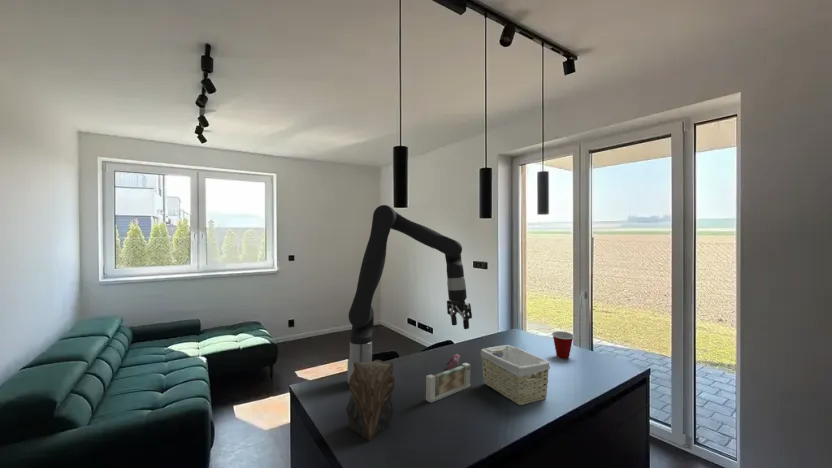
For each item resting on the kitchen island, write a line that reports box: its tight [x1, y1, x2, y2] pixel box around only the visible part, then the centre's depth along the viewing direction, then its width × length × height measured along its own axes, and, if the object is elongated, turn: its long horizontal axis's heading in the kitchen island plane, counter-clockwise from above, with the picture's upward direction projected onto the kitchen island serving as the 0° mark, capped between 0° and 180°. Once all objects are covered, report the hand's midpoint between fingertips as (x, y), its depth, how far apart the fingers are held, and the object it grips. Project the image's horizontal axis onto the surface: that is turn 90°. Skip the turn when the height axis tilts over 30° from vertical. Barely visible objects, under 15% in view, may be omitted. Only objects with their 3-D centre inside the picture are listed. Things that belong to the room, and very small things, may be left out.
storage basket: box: [480, 344, 551, 406], centre depth 136 cm, size 24×16×15 cm
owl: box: [345, 359, 395, 442], centre depth 110 cm, size 13×13×20 cm
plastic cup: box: [551, 330, 575, 360], centre depth 177 cm, size 11×11×12 cm
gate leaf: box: [432, 365, 465, 396], centre depth 134 cm, size 16×2×7 cm, turn 130°
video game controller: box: [445, 353, 461, 371], centre depth 162 cm, size 10×5×7 cm, turn 168°
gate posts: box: [425, 362, 472, 403], centre depth 134 cm, size 22×3×9 cm, turn 130°
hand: (460, 326), depth 142 cm, fingers open, 8 cm apart
